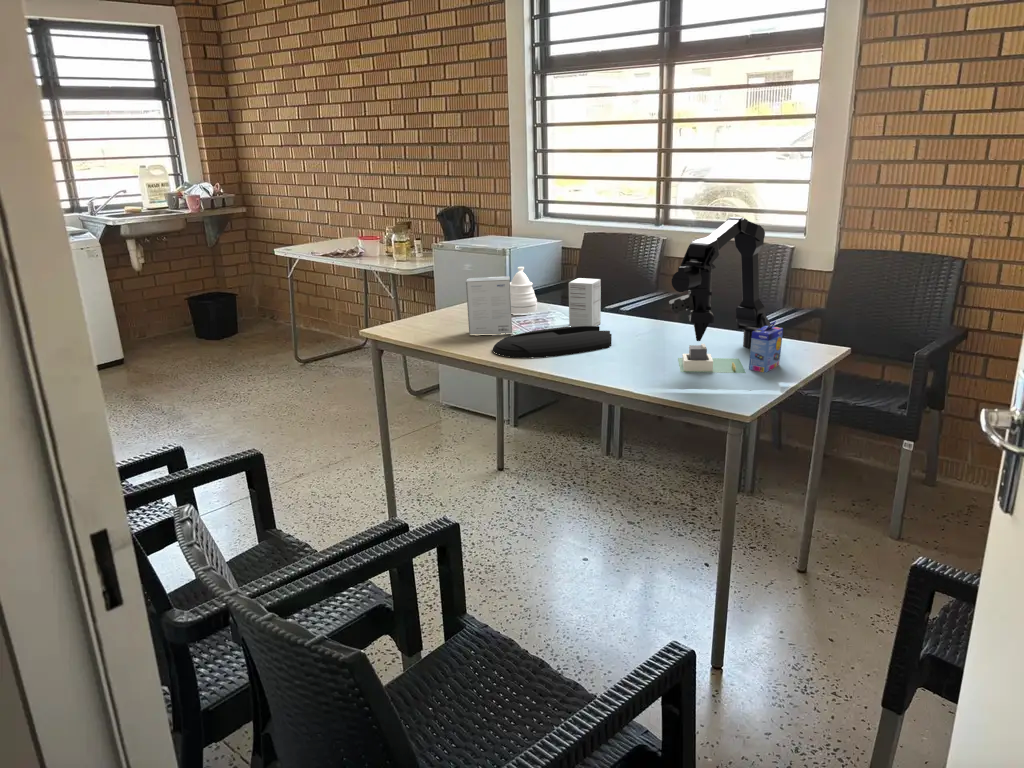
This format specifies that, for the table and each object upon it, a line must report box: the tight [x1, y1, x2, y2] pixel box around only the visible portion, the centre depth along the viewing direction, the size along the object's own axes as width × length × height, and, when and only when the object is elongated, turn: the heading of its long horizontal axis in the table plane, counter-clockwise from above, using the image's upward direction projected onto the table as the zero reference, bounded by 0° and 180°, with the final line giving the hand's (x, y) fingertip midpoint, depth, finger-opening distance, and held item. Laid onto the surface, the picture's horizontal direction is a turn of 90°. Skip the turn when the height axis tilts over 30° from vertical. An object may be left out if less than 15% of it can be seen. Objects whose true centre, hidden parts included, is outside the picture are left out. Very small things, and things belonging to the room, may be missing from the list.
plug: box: [688, 343, 708, 360], centre depth 218 cm, size 4×4×7 cm
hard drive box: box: [465, 275, 513, 335], centre depth 268 cm, size 16×8×20 cm, turn 89°
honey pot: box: [510, 266, 538, 313], centre depth 301 cm, size 13×13×18 cm
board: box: [677, 357, 747, 374], centre depth 220 cm, size 15×18×2 cm
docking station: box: [492, 325, 613, 358], centre depth 251 cm, size 25×41×5 cm, turn 112°
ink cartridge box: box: [748, 320, 784, 373], centre depth 215 cm, size 10×6×14 cm, turn 138°
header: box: [681, 353, 713, 371], centre depth 218 cm, size 8×8×3 cm
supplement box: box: [568, 277, 602, 327], centre depth 276 cm, size 10×9×17 cm
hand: (698, 340), depth 216 cm, fingers closed
